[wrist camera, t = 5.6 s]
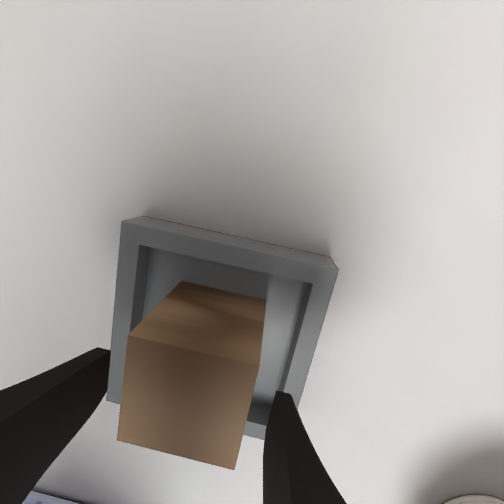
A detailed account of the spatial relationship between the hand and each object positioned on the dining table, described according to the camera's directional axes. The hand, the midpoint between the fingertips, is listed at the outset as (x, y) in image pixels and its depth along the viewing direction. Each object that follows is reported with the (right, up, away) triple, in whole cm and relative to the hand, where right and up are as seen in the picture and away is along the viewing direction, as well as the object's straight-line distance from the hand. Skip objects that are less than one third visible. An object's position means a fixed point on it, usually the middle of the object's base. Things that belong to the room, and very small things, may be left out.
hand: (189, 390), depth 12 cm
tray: (+1, +1, +6) cm, 6 cm away
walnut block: (+1, +1, +5) cm, 5 cm away
